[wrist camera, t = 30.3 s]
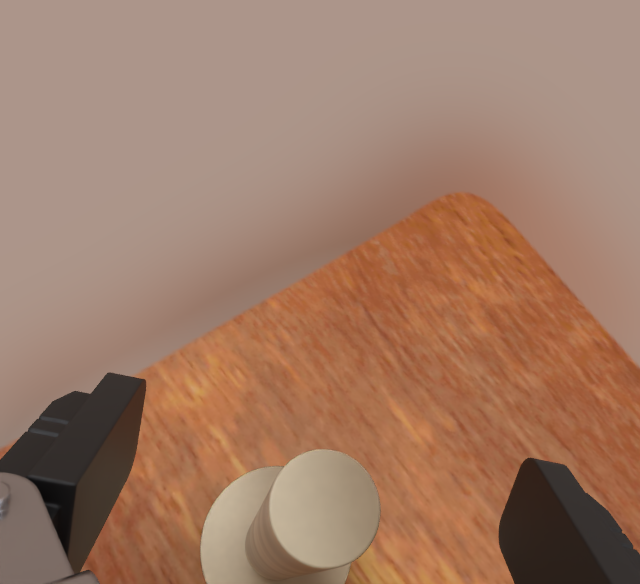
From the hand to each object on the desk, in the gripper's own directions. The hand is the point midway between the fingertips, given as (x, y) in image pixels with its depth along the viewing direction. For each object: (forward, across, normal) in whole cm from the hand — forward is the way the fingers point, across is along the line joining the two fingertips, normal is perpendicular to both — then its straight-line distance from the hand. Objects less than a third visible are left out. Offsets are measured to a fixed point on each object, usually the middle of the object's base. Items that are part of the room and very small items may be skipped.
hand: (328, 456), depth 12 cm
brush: (+10, 0, +11) cm, 15 cm away
